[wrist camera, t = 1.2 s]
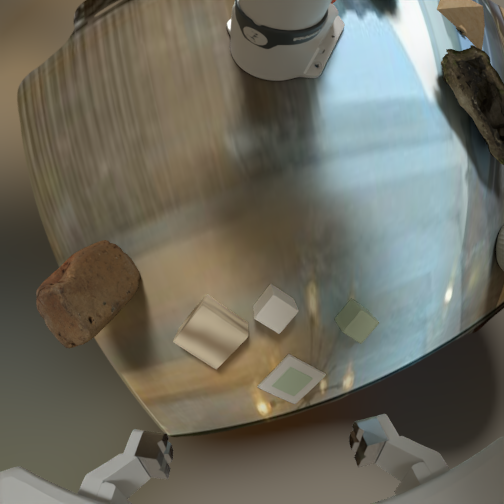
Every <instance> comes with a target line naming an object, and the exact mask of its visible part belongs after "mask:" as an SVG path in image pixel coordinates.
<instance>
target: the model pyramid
mask: <svg viewBox="0 0 504 504" xmlns="http://www.w3.org/2000/svg"><path fill="white" fill-rule="evenodd" d="M437 10H438V11H439V12H440V13H442V14H443V15H444V16H445V17H446V18H447V19H448V20H449V21H451V22H452V23H453V24H454V25H455V26H456V27H457V28H456V29H457V30H458V31H459V30H460V31H461V32H462V35H465V36H466V37H467V38H468V39H469V40H470V41H471V42H472V43H473V44H474V45H475V46H476V47H477V48H479V49H481V50H482V44H483V37H484V27H485V25H484V13H483V6H481V5H479V4H477V3H476V2H474V1H472V0H440V2H439V5H438V8H437Z"/></svg>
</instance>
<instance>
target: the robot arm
mask: <svg viewBox="0 0 504 504" xmlns="http://www.w3.org/2000/svg"><path fill="white" fill-rule="evenodd" d="M335 1H336V0H235V4H234V5H233V7H232V16H231V19H230V20H229V21H228V22H227V26H226V27H227V30H228V32H229V34H230V37H231V41H230V50H231V54H232V57H233V59H234V60H235V62H236V63H237V64H238V66H239V67H240V68H242V69H243V70H244V71H246V72H247V73H249V74H251V75H253V76H255V77H258V78H261V79H265V80H273V81H281V80H288V79H292V78H296V77H305V78H318V77H319V76H320V75H321V73H322V71H323V69H324V67H325V65H326V63H327V61H328V59H329V57H330V55H331V53H332V51H333V48H334V46H335V44H336V42H337V40H338V38H339V36H340V34H341V32H342V30H343V28H344V23H343V21H342V20H341V18H340V17H339V16H338V10H337V8H336V7H335V6H334V5H333V3H334V2H335ZM314 65H317V66H318V68H316V67H315V66H314ZM352 428H353V431H352V432H351V433H350V436H349V443H350V447H351V450H352V451H354V452H355V453H356V454H355V457H354V458H355V460H356V463H357V466H358V467H362V466H366V465H370V464H374V463H375V464H376V465H378V466H379V467H381V468H382V469H383V470H385V471H386V472H388V473H389V474H391V475H392V476H394V477H395V478H397V479H398V480H400V481H401V483H400V484H399V486H398V487H397V488H396V490H395V491H394V492H395V494H396V495H395V496H392V497H390V498H387V499H384V500H381V501H378V502H375V503H372V504H504V437H501V438H499V439H497V440H496V441H495V442H493V443H492V444H490V445H489V446H488V447H486V448H485V449H483V450H482V451H480V452H479V453H477V454H476V455H474V456H473V457H471V458H470V459H468V460H466V461H465V462H463V463H461V464H460V465H458V466H456V467H454V468H453V469H451V470H450V469H449V467H448V466H447V464H446V463H445V461H444V459H443V458H442V456H441V455H440V453H439V452H436V451H434V450H432V449H429V448H427V447H425V446H423V445H420V444H418V443H416V442H414V441H412V440H410V439H407V438H405V437H403V436H401V437H399V435H398V433H397V432H396V430H395V428H394V427H393V425H392V423H391V422H390V420H389V418H388V416H387V415H386V414H383V415H379V416H376V417H371V418H367V419H363V420H359V421H355V422H354V423H353V426H352ZM172 459H173V448H172V445H171V443H169V442H168V436H167V434H165V433H157V432H150V431H144V430H137V429H134V430H133V431H132V434H131V436H130V438H129V441H128V443H127V445H126V448H125V450H124V453H123V454H121V453H120V454H119V455H117V456H116V457H114V458H113V459H111V460H109V461H108V462H106V463H105V464H103V465H101V466H100V467H98V468H97V469H95V470H93V471H92V472H90V473H88V474H87V475H86V476H85V478H84V480H83V482H82V485H81V487H80V489H79V492H78V494H77V493H74V492H72V491H70V490H67V489H65V488H63V487H60V486H58V485H56V484H54V483H52V482H50V481H48V480H45V479H44V478H42V477H40V476H38V475H36V474H34V473H32V472H30V471H29V470H27V469H25V468H23V467H15V468H11V469H7V470H5V471H2V472H0V504H132V503H131V502H130V501H129V500H128V498H129V497H130V496H131V495H132V494H134V493H135V492H136V491H137V490H138V489H139V488H140V487H141V486H142V485H143V484H145V483H146V482H147V481H148V480H149V479H150V477H153V478H160V479H168V477H169V472H170V467H169V465H168V464H169V463H171V462H172Z"/></svg>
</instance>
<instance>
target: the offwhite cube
mask: <svg viewBox="0 0 504 504" xmlns="http://www.w3.org/2000/svg"><path fill="white" fill-rule="evenodd" d="M253 309H254V319H255V320H257V321H259V322H260V323H262V324H264V325H265V326H267V327H268V328H270V329H272V330H273V331H275V332H277V333H278V334H280V333H281V331H282V330H283V329H284V328H285V327H286V326H287V325H288V323H289V322H290V321H291V320H292V319H293V317H294V316H295V315H296V314H297V313H298V312H299V310H298V308H297V305H296V303H295V300H294V299H293V298H292V297H290V296H289V295H287V294H286V293H284V292H283V291H281V290H280V289H278V288H277V287H275V286H274V285H272V284H270V285H269V286H268V287H267V289H266V290H265V291H264V293H263V294H262V295H261V296H260V298H259V299H258V300H257V302H256V303H255V304H254V305H253Z"/></svg>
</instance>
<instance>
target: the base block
mask: <svg viewBox="0 0 504 504" xmlns="http://www.w3.org/2000/svg"><path fill="white" fill-rule="evenodd" d="M247 337H248V322H246V321H245V320H243V319H242V318H241V317H239V316H238V315H236V314H235V313H233V312H232V311H230V310H229V309H228V308H226V307H225V306H223V305H222V304H221V303H219V302H218V301H216V300H215V299H214V298H212V297H211V296H209V295H208V294H206V295H205V296H204V297H203V299H202V300H201V301H200V302H199V304H198V305H197V306H196V307H195V309H194V310H193V311H192V312H191V314H190V315H189V316H188V317H187V319H186V320H185V321H184V323H183V324H182V325H181V326H180V328H179V329H178V332H177V334H176V336H175V338H174V341H173V342H174V343H176V344H177V345H179V346H180V347H182V348H183V349H185V350H186V351H188V352H189V353H191V354H192V355H194V356H195V357H197V358H199V359H200V360H202V361H203V362H205V363H206V364H208V365H210V366H211V367H213V368H215V369H217V368H218V367H219V366H220V365H221V364H222V363H223V362H224V361H225V360H226V359H227V358H228V357H229V356H230V355H231V354H232V353H233V352H234V351H235V350H236V349H237V348H238V347H239V346H240V345H241V344H242V343H243V342H244V341H245V340H246V338H247Z"/></svg>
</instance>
